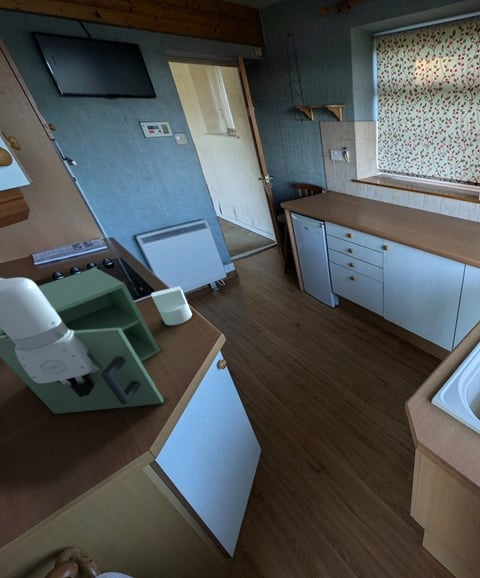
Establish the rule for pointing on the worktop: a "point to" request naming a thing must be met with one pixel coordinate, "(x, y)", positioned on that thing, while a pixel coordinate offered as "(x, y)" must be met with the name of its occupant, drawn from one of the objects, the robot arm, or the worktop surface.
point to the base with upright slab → (172, 305)
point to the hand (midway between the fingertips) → (87, 391)
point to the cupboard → (99, 308)
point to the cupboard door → (95, 375)
